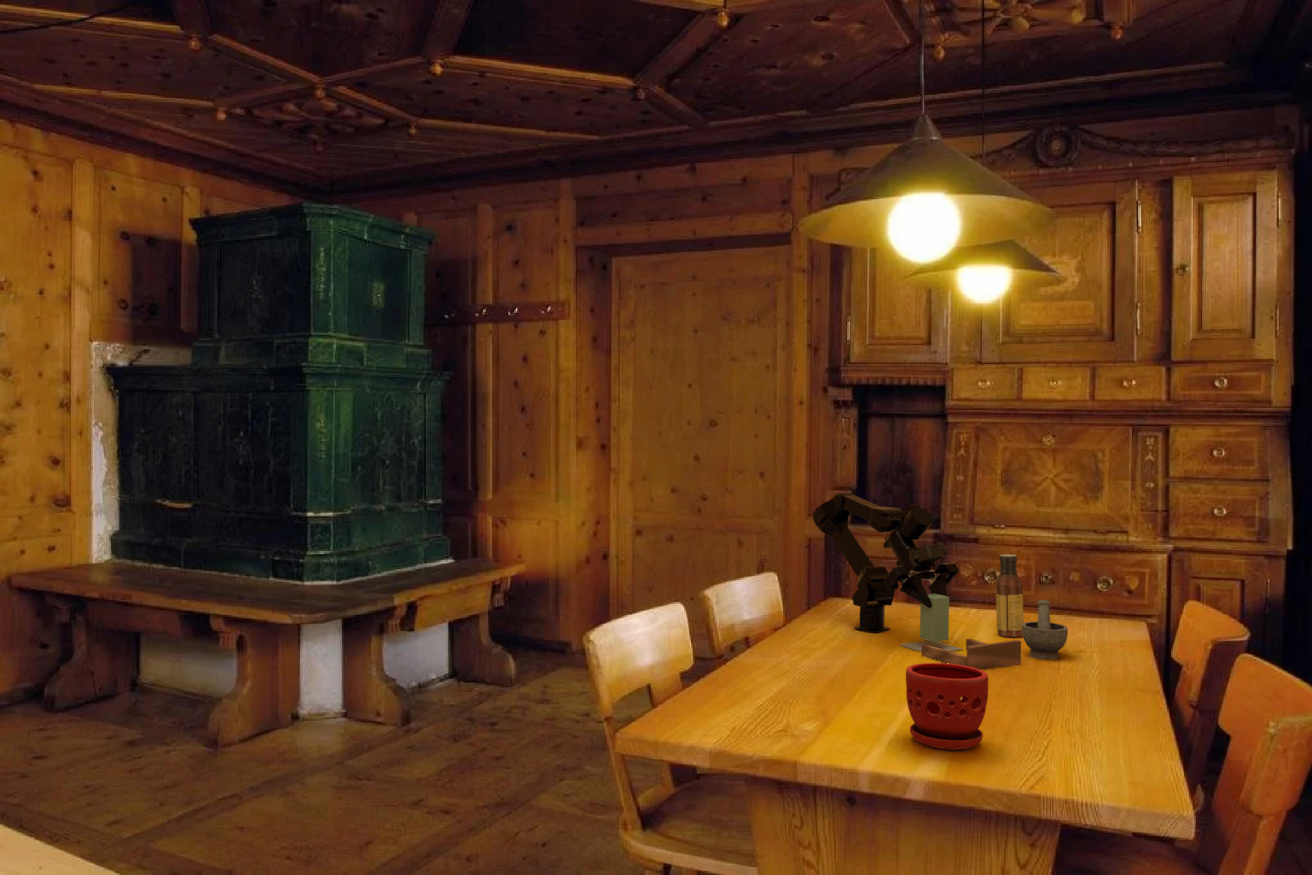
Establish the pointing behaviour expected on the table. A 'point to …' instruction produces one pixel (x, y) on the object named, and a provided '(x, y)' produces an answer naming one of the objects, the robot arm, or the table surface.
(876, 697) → the table surface
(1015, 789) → the table surface
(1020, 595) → the sauce bottle
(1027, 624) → the mortar and pestle
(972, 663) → the frame
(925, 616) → the green block
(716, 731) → the table surface
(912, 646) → the felt mat
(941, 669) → the plant pot
